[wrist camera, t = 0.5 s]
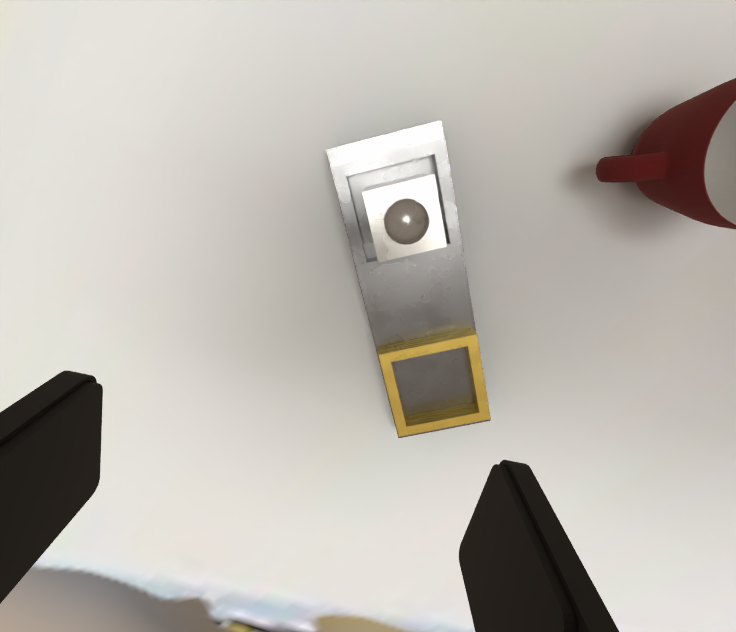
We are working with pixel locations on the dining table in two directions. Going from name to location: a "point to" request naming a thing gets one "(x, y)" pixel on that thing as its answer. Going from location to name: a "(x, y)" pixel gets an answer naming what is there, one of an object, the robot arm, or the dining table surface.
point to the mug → (687, 158)
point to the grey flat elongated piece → (415, 288)
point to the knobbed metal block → (404, 216)
